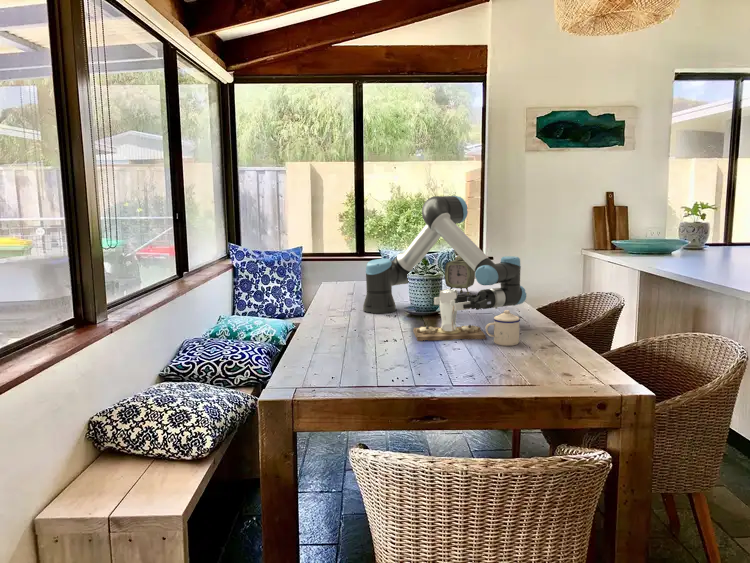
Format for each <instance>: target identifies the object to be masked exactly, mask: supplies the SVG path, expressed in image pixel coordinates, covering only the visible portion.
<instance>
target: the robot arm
mask: <svg viewBox="0 0 750 563" xmlns="http://www.w3.org/2000/svg"><path fill="white" fill-rule="evenodd" d="M421 208H422V209H421V216H422V219H423V221H424V223H425V225H424V226H423V227H422V229H421V230H420V231H419V233H418V234H417V235H416V236H415V237H414V239H413V240H412V241H411V243H410V244H409V245H408V247H407V248H406V249H405V251H404V252H399V253H398V254H397V255H396V257H395V258H394V259H393V260H392V259H390V258H378V259H372V260H369V261H368V262H367V263H366V265H365V267H366V268H365V281H366V282H365V283H366V284H365V286H366V295H365V298H364V302H363V305H362V311H363V310H364V311H366V312H365V313H368V312H371V313H370V314H387V313H388V312H389V313H392V312H393V313H394V312H395V311H396V310H397V309H396V307H397V306H396V302H395V299H394V296H393V294H392V293H393V292H392V291H393V290H392V289H393V288H392V287H393V286H400V285H408V284H409V281H408V278H407V274H408V273H409V272H410V271H411V270H412V269H413V267H414V266H415V265H416V264H418V263H419V264H420V263H421V261H422V260H423V259H424V258H425V257H426V255H427V254H428V253H429V252H430V251H431V249H432V248H433V247H434V245H435V244H436V243H437V242H438V241H439V239H440V238H442V239H443V240H444V241H445V243H447V244H448V245H449V246H450V247H451V248H452V250H453V251H454V250H455V252H456V253H457V254H458V255H457V254H456V255H457V256H460V257H461V258H462V259H463V260H464V261H465V262H466V263H467V264H468V265H469V266H470V267H471V268H472V269H473V270H474V271H475V280H476V282H477V283H478V284H479V285H481V286H493V285H495V284H496V285H497V284H500V287H495V288H493V287H492V288H486V289H480V290H479V291H478V292H477V294H476V293H475V294H471V293H470V294H467V293H466V294H458V303H454V311H457V312H458V311H459V312H460V311H467V310H476V311H479V310H482V309H483V310H487V309H488V310H489V309H495V310H497V309H498V308H503V307H509V306H510V307H512V306H513V307H514V306H517V305H522V304H523V303H525V301H526V300H527V292H526V289H525V288H524V286H522V285H521V270H522V269H521V267H522V266H521V258H520V257H519V256H511V255H509V256H507V255H505V256H501V258H500V262H499V263H494V262H493V260H491V259H490V257H488V255H487V254H486V253H484V251H483V250H482V249H481V248H480V247H478V245H477V244H476V243H475V242H474V241H473V240H472V239H471V238H470V237H469V236H468V235H467V234H466V233H465V232H464V230H462V229H461V228H460V227H459V226H458V225H457V224H461V223H463V222H465V221H466V219H467V217H468V213H469V211H468V205H467V203H466V200H464V199H463V197H460V196H458V195H445V196H444V195H440V196H438V195H437V196H432V197H430V198H427V200H425V202H424V203H423V204H422V207H421ZM419 264H418V265H419ZM433 305H434V306H438V305H439V296H437V297H433ZM364 311H363V312H364ZM389 313H388V314H389Z"/></svg>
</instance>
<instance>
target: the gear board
mask: <svg viewBox="0 0 750 563" xmlns="http://www.w3.org/2000/svg"><path fill="white" fill-rule="evenodd" d="M456 327H457V331H454V332H444V331H441V326H440V327H439V326H437V327H436V326H435V327H433V326H429V325H426V326H419V327H413V334H414V337H415V338H417V339H416V341H417V342H421V341H422V342H424V341H425V340H428V341H454V340H453V339H466V340H486V339H487V335H486V334H485V332H484V331H483V330H482V329H481V327H480V326H476V325H474V324H473V325H472V324H468V325H461V326H456ZM423 340H424V341H423Z"/></svg>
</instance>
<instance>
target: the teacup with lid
mask: <svg viewBox="0 0 750 563" xmlns="http://www.w3.org/2000/svg"><path fill="white" fill-rule="evenodd" d="M520 321H521V319H520V317H519V315H518V316H517V315H515V314H514V313H511V312H510V310H509V309H505V310H504V311H503V312H502V313H500V314H499V315H495V316H494V317H493V322H489V323H487V324H486V325H485V327H484V328H485V329H484V330H485V333H486V334H487V335H488V336H489V337H492V338H493V342H494V343H495V345H499V346H503V347H504V346H505V347H511V346H516V345H517V346H518V344H519V342H520ZM490 326H493V331H494V332H493V334H492V333H490V332H489V330H488V329H489V327H490Z"/></svg>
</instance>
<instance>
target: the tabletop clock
mask: <svg viewBox="0 0 750 563" xmlns="http://www.w3.org/2000/svg"><path fill="white" fill-rule="evenodd" d="M453 252H454V255H457V256H456V257H455V258H454V259H455V260H451V261H448V262H446V264H445V267H444V283H445V285H446V287H448V288H450V289H452V290H453V289H460V290H459V293H460V294H461V293H463V292H464V291H463V289H466V294H471V293H470V292H471V291H469V289H468V288H469V287H472V286H473V285H474V284H475V280H476V277H475V271H474V270H473V269H472V268H471V267H470V266H469V265H468V264H467V263H466V262H465V261H464V260H463V259H462V258H461V257H460V256H459V255H458V254H457V252H456V251H455V250H454V249H453Z"/></svg>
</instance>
